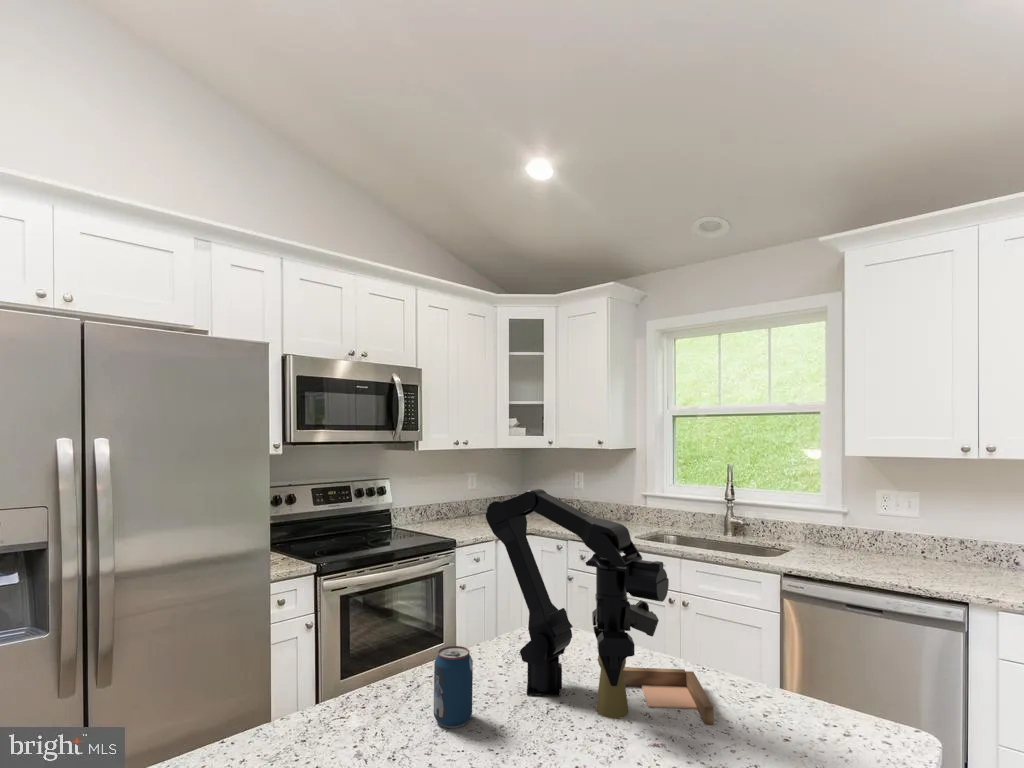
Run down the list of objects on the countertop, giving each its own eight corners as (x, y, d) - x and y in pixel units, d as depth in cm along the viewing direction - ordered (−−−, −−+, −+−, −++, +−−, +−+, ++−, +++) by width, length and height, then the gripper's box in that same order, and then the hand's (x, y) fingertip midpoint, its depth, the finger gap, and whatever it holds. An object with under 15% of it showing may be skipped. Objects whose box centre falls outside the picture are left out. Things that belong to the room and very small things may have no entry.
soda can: (477, 713, 110) (478, 646, 111) (464, 732, 103) (465, 660, 104) (442, 708, 112) (443, 643, 113) (427, 726, 105) (428, 656, 106)
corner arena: (614, 720, 108) (614, 703, 108) (606, 681, 124) (606, 666, 125) (713, 724, 107) (713, 707, 107) (692, 684, 123) (692, 669, 123)
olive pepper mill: (627, 704, 114) (626, 644, 115) (630, 719, 108) (629, 656, 109) (595, 702, 115) (594, 643, 116) (596, 717, 109) (596, 655, 110)
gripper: (663, 608, 103) (664, 701, 102) (647, 580, 122) (647, 659, 121) (598, 606, 104) (599, 699, 103) (591, 579, 123) (592, 657, 122)
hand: (611, 677), depth 112 cm, fingers open, 7 cm apart
